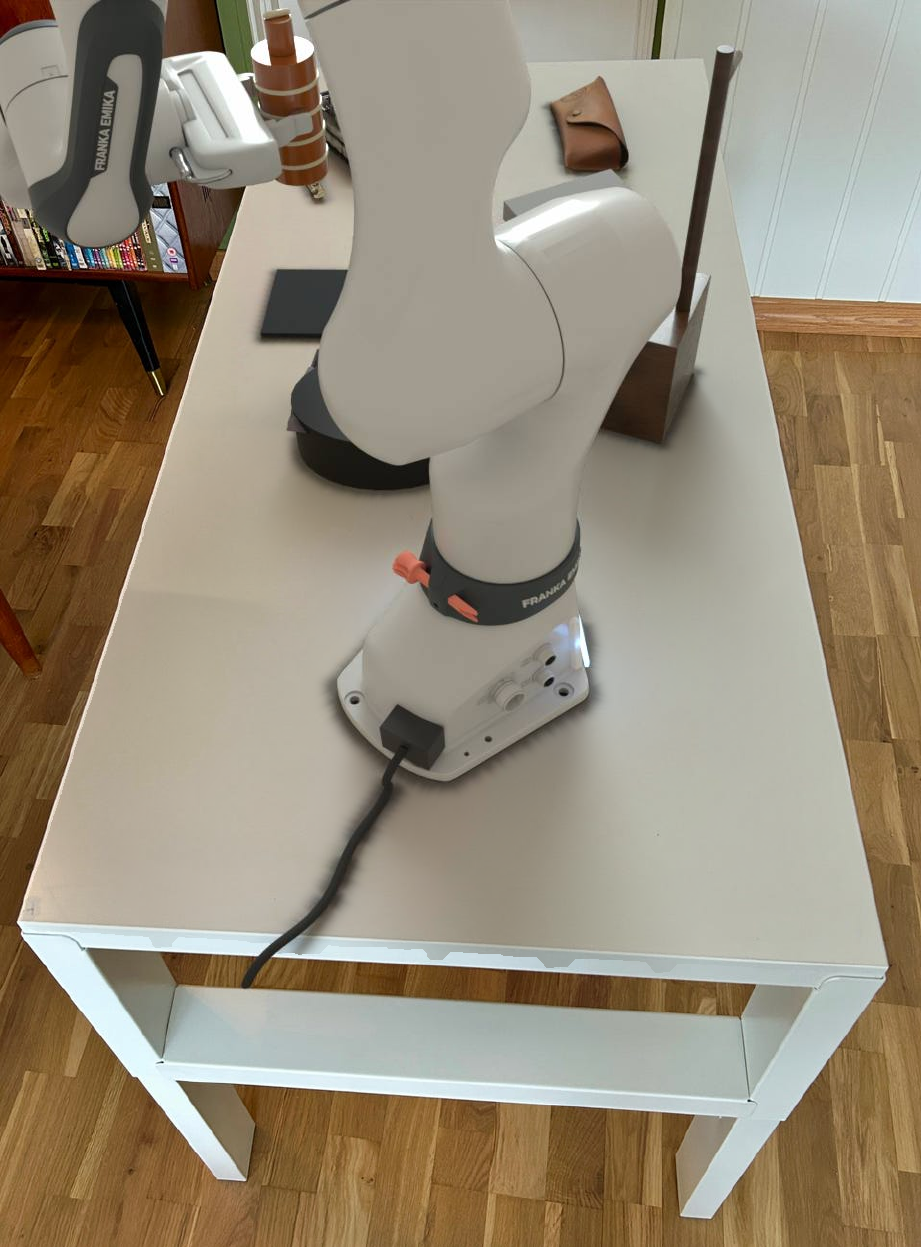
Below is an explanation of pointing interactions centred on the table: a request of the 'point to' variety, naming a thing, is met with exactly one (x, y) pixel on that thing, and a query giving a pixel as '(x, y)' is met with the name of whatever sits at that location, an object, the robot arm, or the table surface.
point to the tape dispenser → (342, 445)
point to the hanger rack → (674, 344)
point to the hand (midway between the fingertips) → (298, 101)
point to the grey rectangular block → (561, 192)
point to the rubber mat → (302, 302)
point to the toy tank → (333, 128)
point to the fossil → (317, 189)
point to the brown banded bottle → (291, 96)
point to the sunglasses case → (590, 129)
